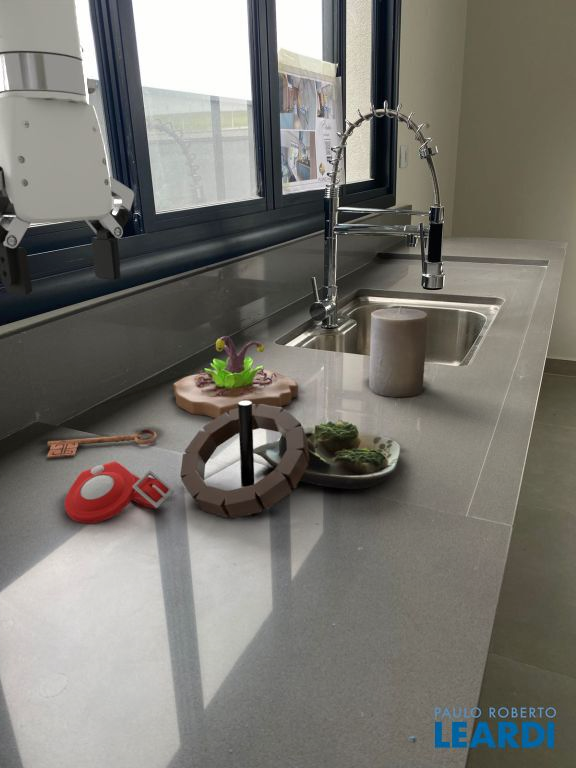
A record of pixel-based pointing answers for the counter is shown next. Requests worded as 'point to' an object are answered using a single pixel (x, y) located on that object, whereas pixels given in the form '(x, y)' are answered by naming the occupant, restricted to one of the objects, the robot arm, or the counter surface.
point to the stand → (242, 458)
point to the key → (76, 442)
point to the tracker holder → (112, 492)
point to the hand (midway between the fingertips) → (66, 285)
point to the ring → (263, 490)
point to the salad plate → (340, 456)
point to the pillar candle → (397, 351)
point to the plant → (233, 385)
